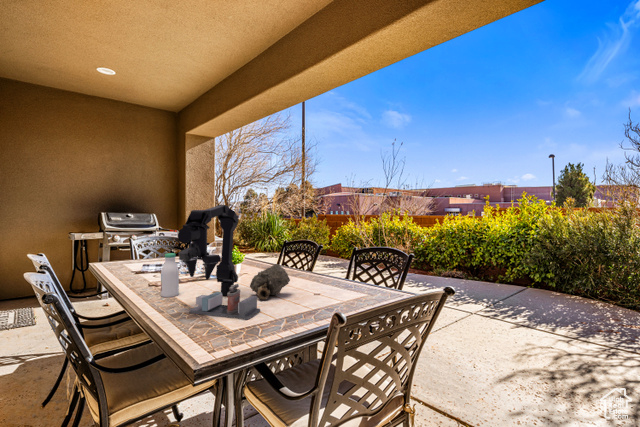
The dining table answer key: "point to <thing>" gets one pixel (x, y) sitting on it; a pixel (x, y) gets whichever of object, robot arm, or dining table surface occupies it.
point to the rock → (269, 281)
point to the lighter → (233, 299)
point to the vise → (245, 311)
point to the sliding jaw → (209, 301)
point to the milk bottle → (169, 277)
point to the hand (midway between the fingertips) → (199, 278)
